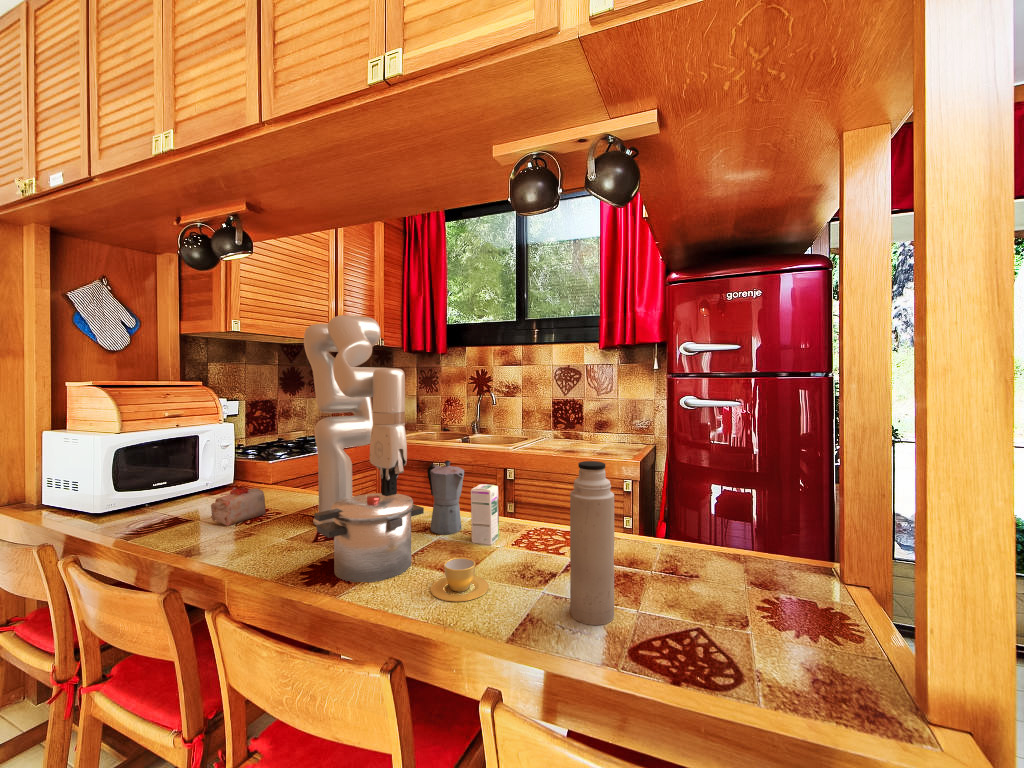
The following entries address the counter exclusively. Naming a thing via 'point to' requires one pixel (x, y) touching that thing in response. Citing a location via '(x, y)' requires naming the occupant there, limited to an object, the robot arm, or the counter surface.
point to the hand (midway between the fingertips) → (389, 494)
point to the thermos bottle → (592, 546)
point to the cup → (459, 580)
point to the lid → (368, 508)
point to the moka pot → (445, 497)
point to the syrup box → (485, 514)
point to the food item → (238, 506)
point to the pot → (371, 547)
